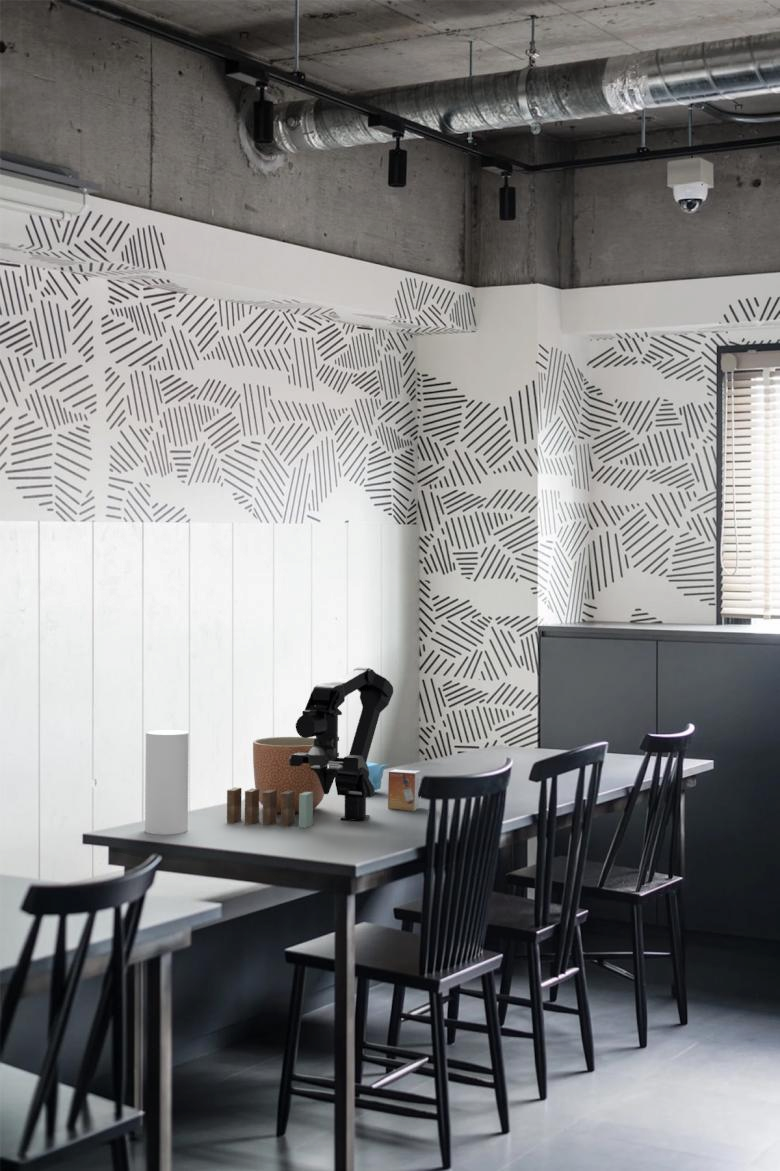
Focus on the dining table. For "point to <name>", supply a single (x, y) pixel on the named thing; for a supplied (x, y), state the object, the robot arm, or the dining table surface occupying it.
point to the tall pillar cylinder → (166, 782)
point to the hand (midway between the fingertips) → (326, 794)
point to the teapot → (375, 774)
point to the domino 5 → (305, 809)
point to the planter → (284, 769)
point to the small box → (403, 789)
